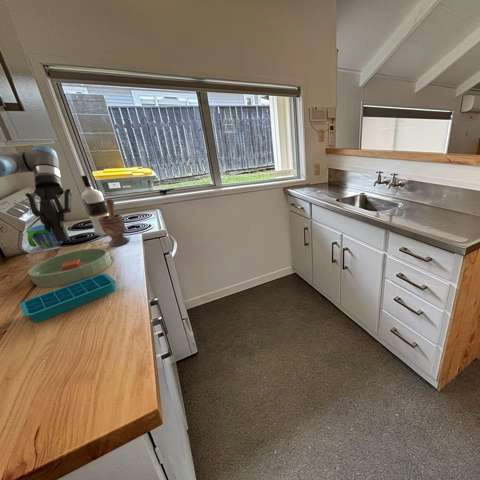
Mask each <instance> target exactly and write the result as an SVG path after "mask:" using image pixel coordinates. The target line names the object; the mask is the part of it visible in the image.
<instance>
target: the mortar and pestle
mask: <svg viewBox="0 0 480 480" xmlns="http://www.w3.org/2000/svg"><path fill="white" fill-rule="evenodd" d="M105 204H106V206H107V209H108V213H109V216H104V217H101V218H99V219H98V220H99V223H100V225H101V227H102V229H103V231H104V232H105V234H106V235H105V236H108V237H109V238H111V239H110V240H109V246H110V247H115V246H116V247H119V246H123V245H125V244H128V243H130V239H128V238H127V237H125V236H124V233H125V232H126V223H125V221H124V217H123V215H122V214H115V201H114V200H113V199H111V198H108V199H106V200H105Z"/></svg>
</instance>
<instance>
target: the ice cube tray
mask: <svg viewBox="0 0 480 480" xmlns="http://www.w3.org/2000/svg"><path fill="white" fill-rule="evenodd" d="M116 282H117V281H116V280H115V279H114V278H112V276H110V275H109V274H108V273H107V272H103V273H98V274H95V275H93V276H90V277H88V278H85V279H82V280H79V281H76V282H73V283H69V284H67V285H64V286H62V287H60V288H56V289H54V290H51V291H48V292H45V293H42V294H39V295H36V296H34V297H31V298H28V299H25V300H23V301H21V302H20V303H19V306H20V309H21V313H22V315H23V317H24V318H30V319H31V321H32V322H33V323H39V322H42V321H45V320H48V319H50V318H52V317H54V316H58V315H59V314H62V313H65V312H67V311H69V310H72V309H74V308H77V307H79V306H81V305H84V304H87V303H89V302H92V301H94V300H97V299H100V298H102V297H104V296H106V295H109V294H112V293H114V292H115V286H114V285H115V284H116Z"/></svg>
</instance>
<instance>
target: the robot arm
mask: <svg viewBox="0 0 480 480" xmlns="http://www.w3.org/2000/svg"><path fill="white" fill-rule="evenodd" d="M59 163H60V160H59V158H58V154H57V151H55V149H53V148H51V147H49V146H46V145H35V146H33V147H32V148H31V150H30V152H29V151H28V152H12V153H11V152H10V153H0V178H4V177H6V176H7V177H8V176H11V175H16V174H23V173H33V177H34V178H33V179H34V187H35V189H34V191H33V192H31V193H29V192H26V193H25V194H24V195H25V196H26V197H27V198H28V202H29V206H30V210H31V213H32V214H33V215H34V216H35V217H36V218H39V221H40V223H42V225H44V226H45V229H46V230H47V231H48V232H51V227H50V224H49V222H48V220H47V218H46V216H45V214H44V212H43V210H42V207H41V205H40V204H39V207H38V202H37V197H39V199H40V201H42V200H50V199H52V200H53V201H54V204H55V206H56V209H57V211H58V212H56V214H57V222H58V227H59V228H60V229H61V230H63V229H64V227H65V225H64V222H66V221H67V218H66V214H68V213H72V196H73V194H74V193H73V191H72V190H71V189H70V188H67V189H65V188H63V184H62V182H63V181H62V177H61V171H60V164H59ZM62 195H64V196H63V197H64V198H63V200H64V203H62V200H61V196H62ZM63 205H64V206H63Z"/></svg>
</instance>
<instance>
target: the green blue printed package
mask: <svg viewBox="0 0 480 480" xmlns="http://www.w3.org/2000/svg"><path fill="white" fill-rule="evenodd" d="M25 233H27V242H28V244H29V246H30V247H32V248H37V247H38V248H39V249H48V248H53V247H57V246H59V245H61V244H63V241H59V242H57V239H56V237H55V235H54V233H53V231H52V229H51V232H48V231H47V230H46V229H45V226H44V224H40V225H39V224H38V225H34V226H31V227H29V228H27V229H26V230H25Z"/></svg>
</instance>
